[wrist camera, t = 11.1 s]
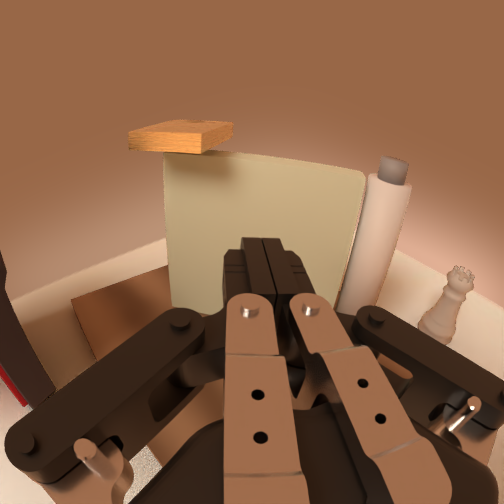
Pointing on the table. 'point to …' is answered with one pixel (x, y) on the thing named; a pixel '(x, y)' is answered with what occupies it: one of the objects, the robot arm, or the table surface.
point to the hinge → (280, 222)
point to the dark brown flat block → (19, 356)
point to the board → (134, 319)
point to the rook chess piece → (447, 306)
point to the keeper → (180, 136)
